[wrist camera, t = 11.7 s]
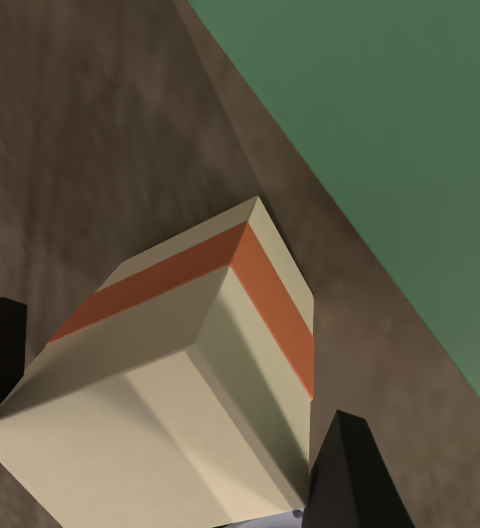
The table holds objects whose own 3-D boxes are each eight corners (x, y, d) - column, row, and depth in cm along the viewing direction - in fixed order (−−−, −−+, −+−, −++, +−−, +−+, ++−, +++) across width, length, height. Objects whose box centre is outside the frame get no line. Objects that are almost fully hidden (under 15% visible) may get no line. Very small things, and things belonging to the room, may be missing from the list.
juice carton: (316, 297, 17) (311, 509, 9) (181, 349, 19) (87, 556, 11) (258, 192, 15) (196, 339, 8) (120, 261, 17) (-35, 430, 10)
